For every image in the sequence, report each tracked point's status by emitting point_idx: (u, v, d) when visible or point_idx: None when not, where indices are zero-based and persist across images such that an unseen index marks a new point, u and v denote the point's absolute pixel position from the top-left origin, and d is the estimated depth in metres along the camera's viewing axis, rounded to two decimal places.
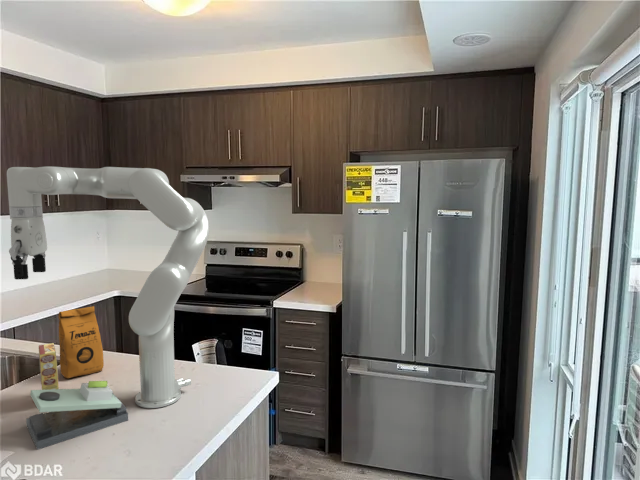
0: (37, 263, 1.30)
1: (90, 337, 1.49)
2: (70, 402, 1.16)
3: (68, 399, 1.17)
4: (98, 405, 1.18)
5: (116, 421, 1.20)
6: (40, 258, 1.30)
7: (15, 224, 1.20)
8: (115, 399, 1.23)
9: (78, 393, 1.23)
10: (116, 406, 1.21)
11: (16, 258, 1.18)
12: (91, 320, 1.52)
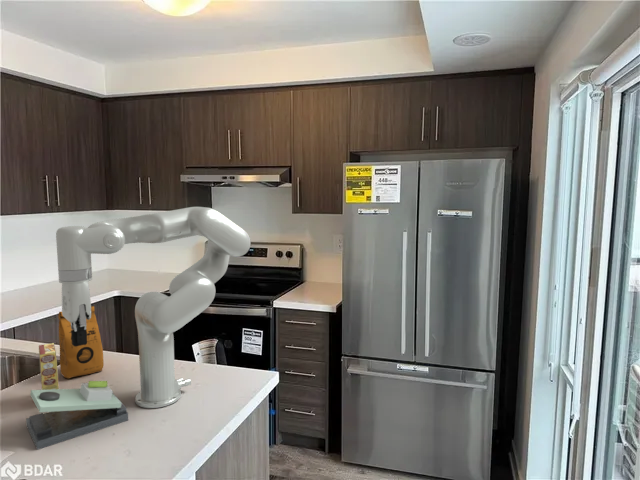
0: None
1: (90, 337, 1.49)
2: (70, 402, 1.16)
3: (68, 399, 1.17)
4: (98, 405, 1.18)
5: (116, 421, 1.20)
6: None
7: None
8: (115, 399, 1.23)
9: (78, 393, 1.23)
10: (116, 406, 1.21)
11: None
12: (91, 320, 1.52)
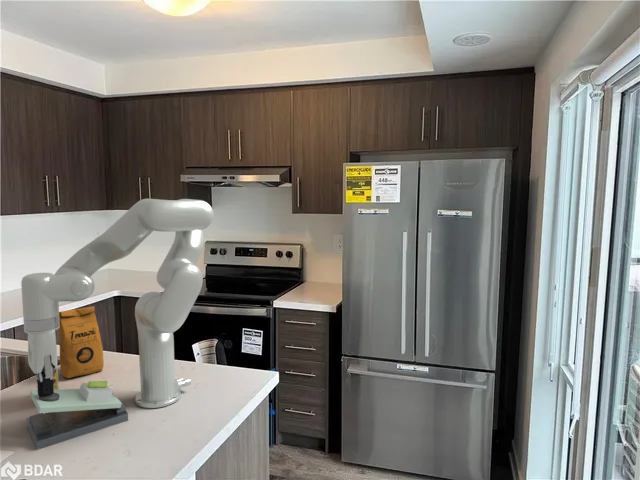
0: None
1: (90, 337, 1.49)
2: (70, 402, 1.16)
3: (67, 399, 1.17)
4: (98, 405, 1.18)
5: (116, 421, 1.20)
6: None
7: None
8: (115, 399, 1.23)
9: (77, 393, 1.23)
10: (116, 406, 1.21)
11: None
12: (91, 320, 1.52)
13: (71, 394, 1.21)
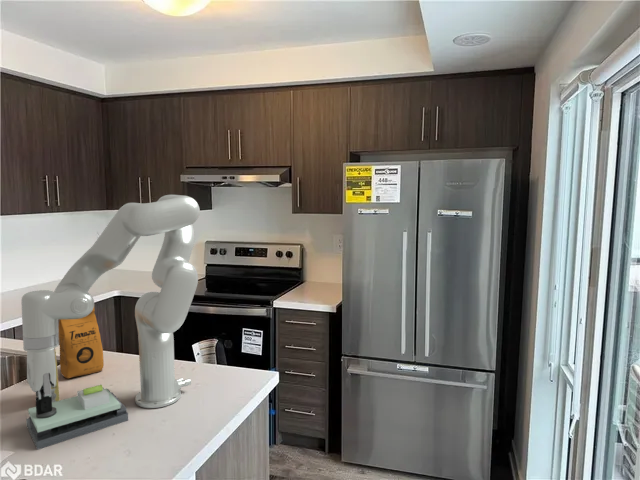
0: None
1: (90, 337, 1.49)
2: (67, 414, 1.15)
3: (65, 411, 1.17)
4: (96, 411, 1.18)
5: (116, 421, 1.20)
6: None
7: None
8: (114, 400, 1.23)
9: (76, 401, 1.22)
10: (116, 408, 1.21)
11: None
12: (91, 320, 1.52)
13: (69, 404, 1.21)
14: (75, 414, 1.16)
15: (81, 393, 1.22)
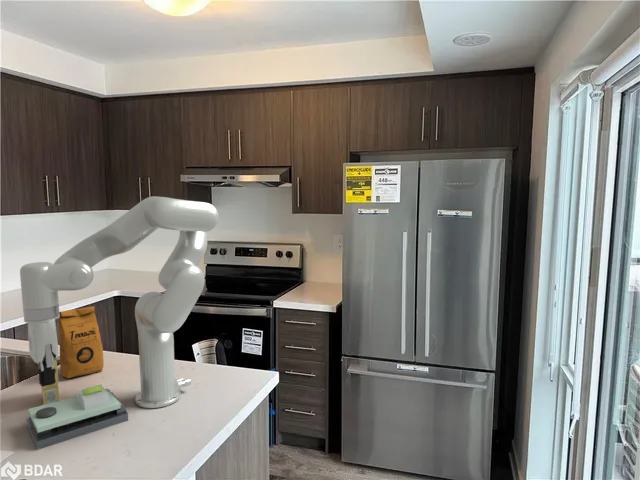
0: None
1: (90, 337, 1.49)
2: (67, 415, 1.15)
3: (65, 411, 1.17)
4: (96, 411, 1.18)
5: (116, 421, 1.20)
6: None
7: None
8: (114, 400, 1.23)
9: (76, 401, 1.22)
10: (116, 408, 1.21)
11: None
12: (91, 320, 1.52)
13: (69, 404, 1.21)
14: (75, 414, 1.16)
15: (81, 393, 1.22)
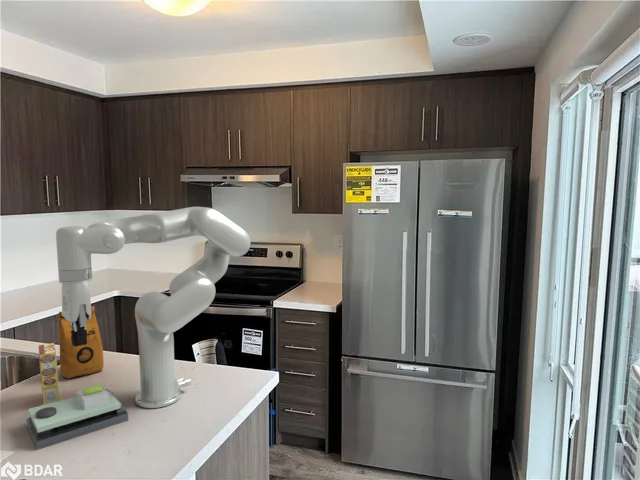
0: None
1: (90, 337, 1.49)
2: (67, 415, 1.15)
3: (65, 411, 1.17)
4: (96, 411, 1.18)
5: (116, 421, 1.20)
6: None
7: None
8: (114, 400, 1.23)
9: (76, 401, 1.22)
10: (116, 408, 1.21)
11: None
12: (91, 320, 1.52)
13: (69, 404, 1.21)
14: (75, 414, 1.16)
15: (81, 393, 1.22)
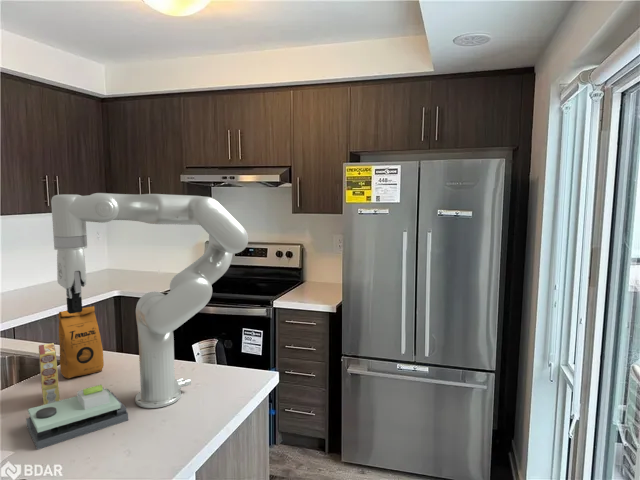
0: None
1: (90, 337, 1.49)
2: (67, 415, 1.15)
3: (65, 411, 1.17)
4: (96, 411, 1.18)
5: (116, 421, 1.20)
6: None
7: None
8: (114, 400, 1.23)
9: (76, 401, 1.22)
10: (116, 408, 1.21)
11: None
12: (91, 320, 1.52)
13: (69, 404, 1.21)
14: (75, 414, 1.16)
15: (81, 393, 1.22)
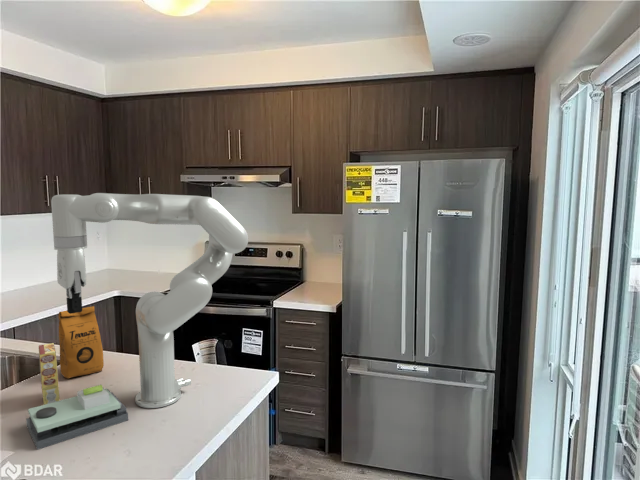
0: None
1: (90, 337, 1.49)
2: (67, 415, 1.15)
3: (65, 411, 1.17)
4: (96, 411, 1.18)
5: (116, 421, 1.20)
6: None
7: None
8: (114, 400, 1.23)
9: (76, 401, 1.22)
10: (116, 408, 1.21)
11: None
12: (91, 320, 1.52)
13: (69, 404, 1.21)
14: (75, 414, 1.16)
15: (81, 393, 1.22)
